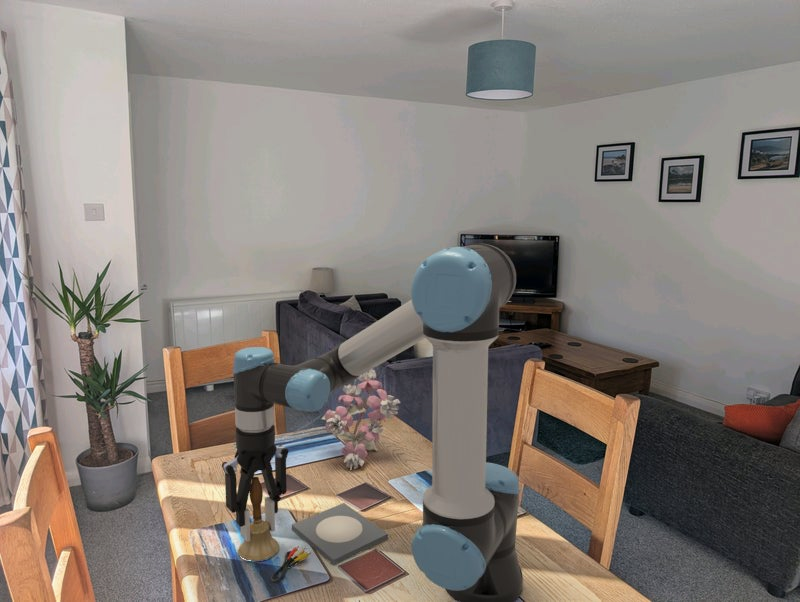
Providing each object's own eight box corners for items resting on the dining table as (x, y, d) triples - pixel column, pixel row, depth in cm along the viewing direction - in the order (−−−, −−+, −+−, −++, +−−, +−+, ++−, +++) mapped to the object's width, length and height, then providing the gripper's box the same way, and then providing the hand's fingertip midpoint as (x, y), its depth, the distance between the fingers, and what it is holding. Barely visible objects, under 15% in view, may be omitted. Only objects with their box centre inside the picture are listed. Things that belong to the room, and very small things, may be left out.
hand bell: (252, 568, 111) (250, 492, 108) (229, 549, 116) (227, 477, 114) (287, 549, 117) (286, 477, 114) (264, 533, 122) (262, 464, 120)
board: (387, 538, 121) (387, 533, 121) (333, 565, 112) (333, 559, 112) (343, 507, 133) (343, 502, 133) (291, 529, 124) (291, 523, 124)
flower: (293, 447, 161) (311, 382, 148) (350, 417, 177) (371, 357, 164) (339, 497, 151) (363, 432, 139) (394, 461, 168) (420, 400, 155)
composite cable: (277, 586, 106) (277, 574, 106) (259, 577, 109) (259, 565, 108) (312, 559, 114) (312, 548, 114) (295, 551, 117) (294, 540, 117)
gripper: (285, 409, 120) (287, 510, 124) (203, 431, 109) (208, 541, 113) (304, 420, 115) (305, 525, 119) (220, 444, 103) (224, 559, 107)
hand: (258, 533), depth 116 cm, fingers closed on hand bell, 5 cm apart
